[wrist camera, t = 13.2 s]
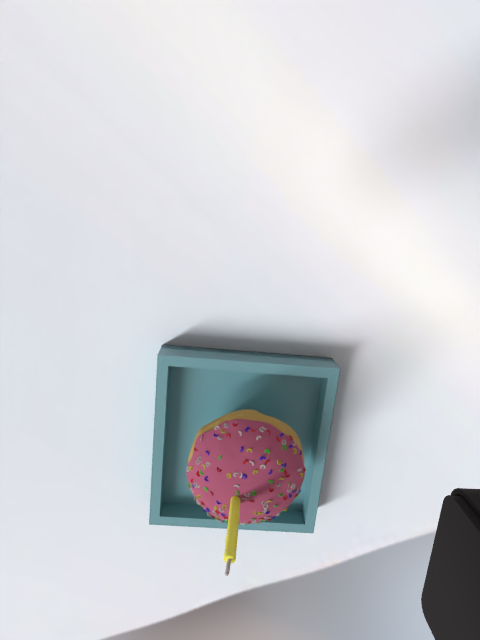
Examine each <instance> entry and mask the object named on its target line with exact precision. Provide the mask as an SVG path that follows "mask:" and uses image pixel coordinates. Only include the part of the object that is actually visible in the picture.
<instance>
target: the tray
mask: <svg viewBox="0 0 480 640" xmlns="http://www.w3.org/2000/svg"><path fill="white" fill-rule="evenodd" d="M339 373H340V368H339V367H338V366H337V364H336V363H335V362H334V361H333V359H332V358H324V357H312V356H299V355H287V354H274V353H262V352H249V351H236V350H224V349H211V348H199V347H186V346H173V345H162V347H161V349H160V351H159V353H158V358H157V378H156V398H155V418H154V438H153V458H152V478H151V498H150V518H149V524H151V525H169V526H188V527H207V528H225V529H227V528H228V523H226V522H223V523H221V522H222V521H223V520H222V521H221V522H220V521H219V520H220V519H219V520H216V519H215V517H214V519H213V517H212V515H211V517H210V516H208V515H207V512H205V511H203V510H204V509H203V507H201V506H200V505H198V504H197V503H198V502H197V503H196V499H195V500H194V496H193V494H192V492H191V491H190V488H189V486H188V480H187V474H186V468H187V465H188V458H189V454H190V450H191V447H192V445H193V442H194V440H195V437H196V435H197V433H198V431H199V430H200V429H201V428H202V427H203V426H205V425H206V424H208V423H210V422H212V421H214V420H215V419H217V418H219V417H221V416H223V415H225V414H228V413H231V412H234V411H238V410H248V409H252V410H256V411H258V412H259V413H261V414H264V415H267V416H271V417H274V418H276V419H278V420H280V421H282V422H284V423H286V424H287V425H289V426H290V427H291V428H292V429H293V430H294V431H295V432H296V434H297V435H298V437H299V440H300V442H301V446H302V450H303V454H304V467H305V469H306V471H305V477H304V480H303V483H302V486H301V488H300V489H301V492H300V493H299V495H298V496H297V497H296V498H295V499H294V500H293V502H292V503H291V504H290V505H289V506H288V507H287V508H288V510H287V511H283V512H281V513H279V514H280V515H278V516H276V517H275V518H274V519H272V520H270V521H269V520H268V519H267V520H265V521H261V523H260V522H258V523H260V524H257V523H252V524H247V525H240V524H239V525H238V529H244V530H263V531H281V532H300V533H313V532H314V526H315V520H316V514H317V508H318V501H319V495H320V489H321V483H322V477H323V471H324V465H325V458H326V452H327V446H328V440H329V434H330V428H331V422H332V416H333V409H334V403H335V397H336V391H337V385H338V379H339ZM299 491H300V490H299ZM287 508H286V509H287ZM286 509H285V510H286ZM208 514H209V513H208Z"/></svg>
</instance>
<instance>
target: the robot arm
mask: <svg viewBox="0 0 480 640" xmlns="http://www.w3.org/2000/svg"><path fill="white" fill-rule="evenodd" d="M421 601H422V609H423V613H424V616H425V619H426V621H427V623H428V625H429V627H430V629H431V631H432V634H433V636H434V638H435V640H480V489H462V488H457V489H454V490H453V491H452V493H451V495H448V496H446V497H445V498H444V501H443V505H442V509H441V513H440V518H439V522H438V526H437V531H436V535H435V540H434V544H433V549H432V553H431V557H430V562H429V566H428V571H427V575H426V579H425V583H424V588H423V592H422V598H421Z"/></svg>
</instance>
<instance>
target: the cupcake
mask: <svg viewBox="0 0 480 640" xmlns="http://www.w3.org/2000/svg"><path fill="white" fill-rule="evenodd" d="M305 471H306V469H305V467H304V454H303V450H302V446H301V442H300V440H299V437H298V435H297V434H296V432H295V431H294V430H293V429H292V428H291V427H290V426H289V425H287V424H286V423H284V422H282V421H280V420H278V419H276V418H274V417H271V416H267V415H264V414H261V413H259V412H258V411H256V410H252V409H248V410H238V411H234V412H231V413H228V414H225V415H223V416H221V417H219V418H217V419H215V420H214V421H212V422H210V423H208V424H206V425H205V426H203V427H202V428H201V429H200V430H199V431H198V433H197V435H196V437H195V440H194V442H193V445H192V447H191V450H190V454H189V458H188V465H187V468H186V474H187V480H188V486H189V488H190V491H191V492H192V494H193V496H194V500H195V499H196V503H197V502H198V503H197V504H198V505H200V506H201V507H203V509H204V510H203V511H205V512H207V515H208V516H210V517H211V515H212V517H213V519H214V517H215V519H216V520H219V519H220V520H219V521H220V522H221V521H222V520H223V521H222V522H221V523H223V522H226V523H228V528H227V536H226V545H225V554H224V560H225V562H226V563H227V565H226V572H225V575H226V576H227V575H228V574H229V571H230V564H231V563H234V562H235V559H236V547H237V536H238V525H239V524H240V525H247V524H252V523H257V524H260V523H261V521H265V520H267V519H268V520H269V521H270V520H272V519H274V518H275V517H276V516H278V515H280V514H279V513H281V512H283V511H287V510H288V508H287V507H288V506H289V505H290V504H291V503H292V502H293V500H294V499H295V498H296V497H297V496H298V495H299V493H300V492H301V489H300V488H301V486H302V483H303V480H304V477H305ZM299 490H300V491H299ZM286 508H287V509H286ZM285 509H286V510H285ZM208 513H209V514H208ZM258 522H260V523H258Z"/></svg>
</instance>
